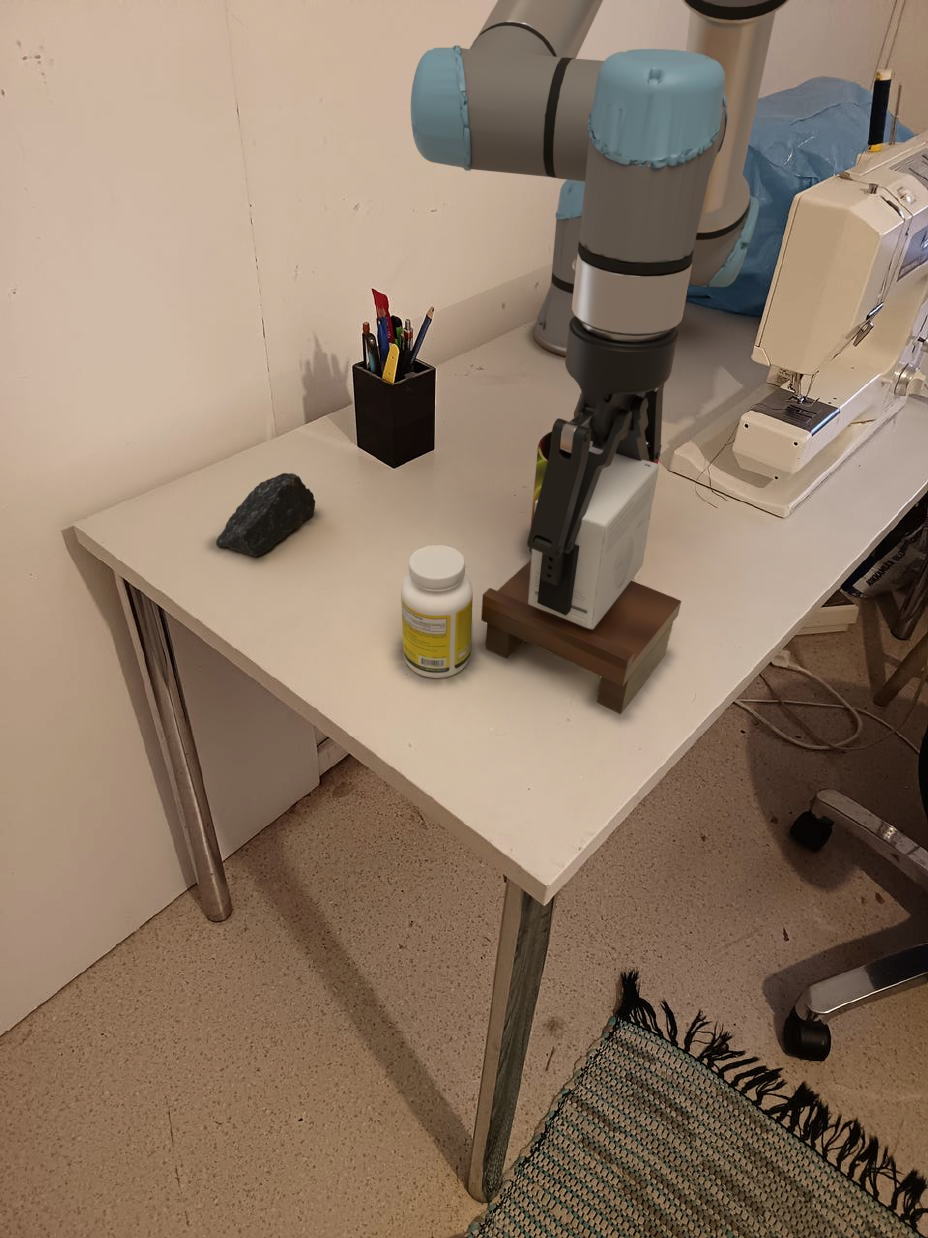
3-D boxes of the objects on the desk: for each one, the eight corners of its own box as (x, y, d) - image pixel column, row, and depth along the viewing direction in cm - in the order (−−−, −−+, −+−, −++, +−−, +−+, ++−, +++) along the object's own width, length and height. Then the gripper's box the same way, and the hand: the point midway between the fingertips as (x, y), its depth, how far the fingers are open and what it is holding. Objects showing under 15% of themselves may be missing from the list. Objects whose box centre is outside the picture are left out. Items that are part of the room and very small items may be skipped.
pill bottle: (452, 626, 83) (454, 531, 76) (482, 667, 79) (487, 571, 72) (392, 645, 81) (388, 549, 74) (420, 689, 77) (419, 592, 70)
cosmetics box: (578, 542, 80) (592, 441, 73) (643, 566, 78) (663, 463, 71) (522, 603, 74) (532, 498, 67) (592, 632, 71) (609, 526, 64)
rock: (206, 546, 92) (197, 499, 88) (264, 498, 99) (257, 453, 95) (262, 565, 89) (254, 518, 86) (317, 515, 96) (312, 469, 93)
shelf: (540, 593, 87) (546, 534, 83) (669, 650, 81) (684, 590, 77) (479, 654, 80) (482, 594, 76) (615, 721, 75) (628, 660, 70)
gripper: (648, 261, 69) (610, 497, 84) (486, 363, 54) (475, 627, 69) (738, 283, 66) (683, 524, 80) (593, 397, 51) (557, 666, 66)
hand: (587, 572), depth 75 cm, fingers closed on cosmetics box, 11 cm apart
